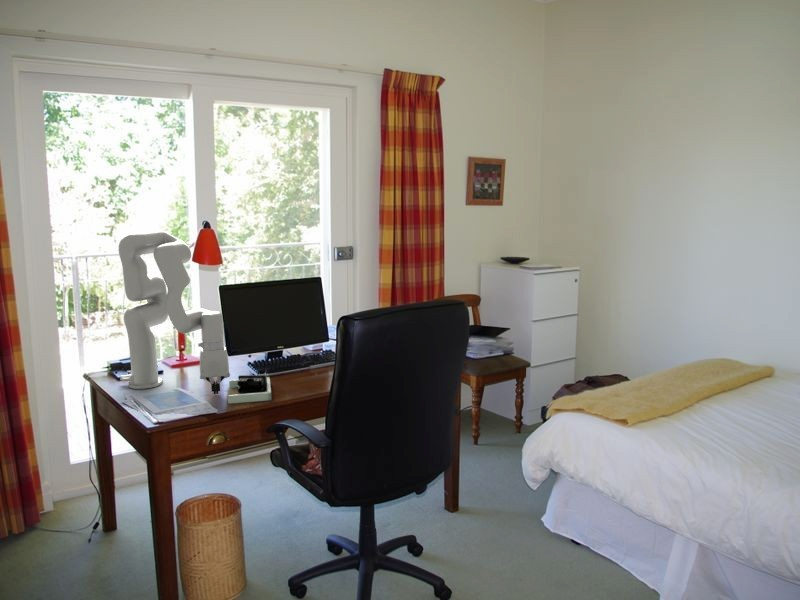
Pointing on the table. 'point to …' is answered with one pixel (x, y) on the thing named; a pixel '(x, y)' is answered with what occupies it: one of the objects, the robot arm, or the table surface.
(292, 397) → the table surface
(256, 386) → the end cap
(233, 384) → the holder
